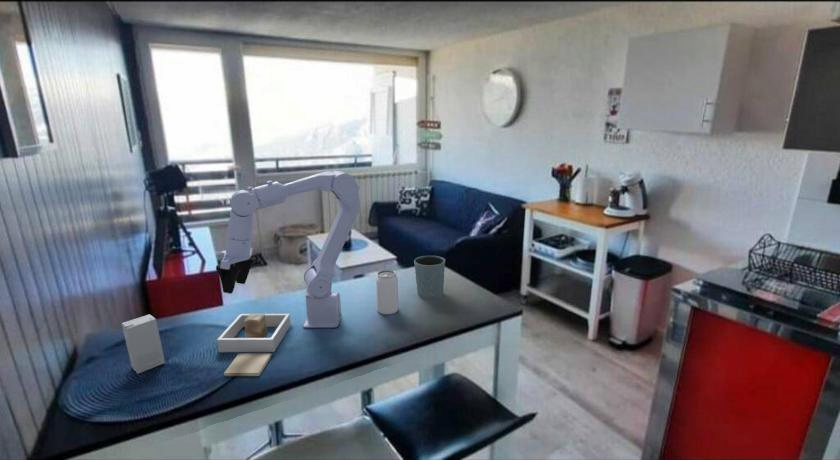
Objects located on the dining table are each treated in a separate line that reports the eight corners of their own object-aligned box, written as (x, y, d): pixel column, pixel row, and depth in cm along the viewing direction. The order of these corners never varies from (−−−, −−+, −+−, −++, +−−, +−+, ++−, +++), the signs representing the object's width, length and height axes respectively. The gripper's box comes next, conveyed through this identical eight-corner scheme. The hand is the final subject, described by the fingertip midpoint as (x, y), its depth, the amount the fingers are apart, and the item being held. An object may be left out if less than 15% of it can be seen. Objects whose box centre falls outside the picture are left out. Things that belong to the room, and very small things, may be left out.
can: (373, 313, 125) (372, 275, 122) (383, 304, 131) (382, 268, 128) (392, 316, 123) (391, 279, 120) (401, 307, 129) (401, 271, 125)
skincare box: (159, 357, 103) (150, 312, 99) (166, 363, 100) (157, 318, 97) (130, 368, 98) (120, 322, 95) (136, 375, 95) (126, 328, 92)
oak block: (267, 334, 113) (264, 313, 112) (261, 341, 110) (259, 320, 108) (252, 334, 113) (249, 313, 112) (246, 341, 110) (243, 320, 108)
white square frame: (290, 324, 118) (289, 313, 117) (274, 351, 105) (272, 339, 104) (241, 325, 118) (240, 313, 117) (218, 352, 105) (216, 339, 104)
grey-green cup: (445, 300, 133) (445, 265, 130) (413, 300, 134) (413, 265, 130) (444, 287, 143) (444, 255, 140) (414, 287, 143) (414, 255, 140)
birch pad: (271, 356, 103) (271, 353, 103) (259, 375, 95) (258, 372, 95) (239, 356, 103) (238, 353, 103) (224, 375, 95) (224, 372, 95)
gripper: (236, 229, 113) (231, 276, 115) (209, 240, 98) (204, 294, 101) (262, 234, 113) (256, 281, 115) (239, 246, 99) (233, 299, 101)
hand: (234, 287), depth 108 cm, fingers open, 7 cm apart
